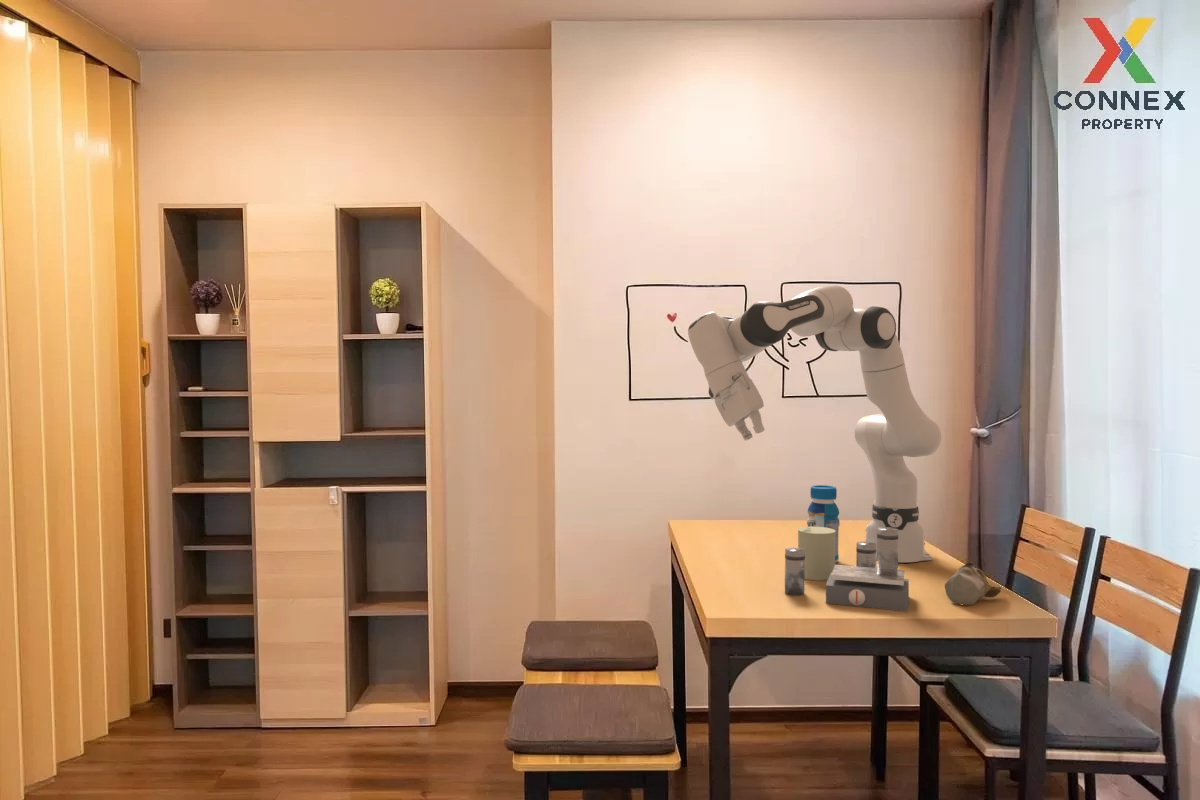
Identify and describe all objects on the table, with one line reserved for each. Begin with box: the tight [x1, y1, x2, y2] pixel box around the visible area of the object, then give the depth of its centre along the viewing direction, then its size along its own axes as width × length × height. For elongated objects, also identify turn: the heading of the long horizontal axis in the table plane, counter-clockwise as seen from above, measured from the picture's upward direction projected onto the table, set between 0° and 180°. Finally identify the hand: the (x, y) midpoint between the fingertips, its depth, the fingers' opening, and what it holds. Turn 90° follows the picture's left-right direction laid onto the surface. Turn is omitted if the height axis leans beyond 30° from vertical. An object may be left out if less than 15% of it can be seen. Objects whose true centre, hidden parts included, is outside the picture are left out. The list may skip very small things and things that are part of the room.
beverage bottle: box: [806, 484, 841, 564], centre depth 220 cm, size 8×8×20 cm
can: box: [797, 526, 836, 581], centre depth 204 cm, size 9×9×12 cm
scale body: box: [825, 573, 910, 612], centre depth 183 cm, size 12×17×4 cm
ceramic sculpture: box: [944, 562, 1002, 606], centre depth 183 cm, size 11×9×15 cm
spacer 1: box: [784, 547, 806, 597], centre depth 189 cm, size 4×4×10 cm
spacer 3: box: [876, 527, 899, 576], centre depth 181 cm, size 4×4×10 cm
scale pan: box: [831, 564, 905, 585], centre depth 183 cm, size 10×15×1 cm, turn 70°
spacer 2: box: [855, 541, 877, 568], centre depth 196 cm, size 4×4×10 cm
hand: (754, 436), depth 185 cm, fingers open, 8 cm apart
